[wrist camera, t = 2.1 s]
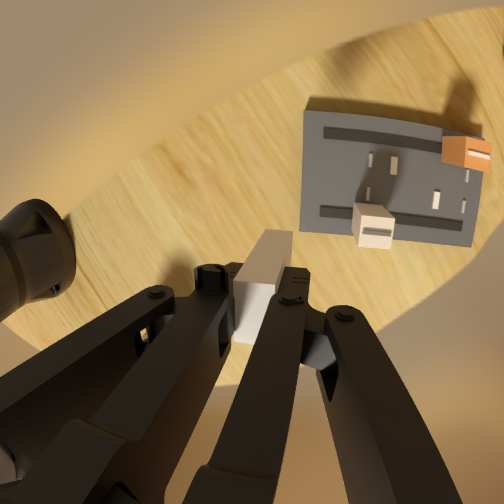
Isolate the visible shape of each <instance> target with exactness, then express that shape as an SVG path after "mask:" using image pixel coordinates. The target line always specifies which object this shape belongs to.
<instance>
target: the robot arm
mask: <svg viewBox="0 0 504 504" xmlns="http://www.w3.org/2000/svg"><path fill="white" fill-rule="evenodd" d="M292 235H293V231H282V230H269V229H265V231H264V233H263V234H262V236H261V237H260V239H259V240H258V242H257V244H256V245H255V247H254V248H253V250H252V251H251V253H250V255H249V256H248V258H247V259H246V261H245V262H244V263H235V262H231V263H229V264H227V265H225V266H223V265H219V264H205V265H201V266H198V267H196V268H195V269H194V276H195V290H194V291H193V293H192V294H191V295H190V296H189V297H174V291H173V289H172V288H170V287H168V286H163V285H155V286H152V287H148V288H146V289H144V290H142V291H140V292H139V293H137V294H135V295H134V296H132V297H130V298H129V299H127V300H125V301H124V302H122V303H120V304H118V305H117V306H115V307H113V308H112V309H110V310H108V311H107V312H105V313H103V314H102V315H100V316H98V317H97V318H95V319H93V320H92V321H90V322H88V323H87V324H85V325H83V326H82V327H80V328H78V329H77V330H75V331H74V332H72V333H70V334H69V335H67V336H65V337H64V338H62V339H60V340H59V341H57V342H56V343H54V344H52V345H51V346H49V347H48V348H46V349H44V350H43V351H41V352H40V353H38V354H36V355H35V356H33V357H32V358H30V359H28V360H27V361H25V362H23V363H22V364H20V365H19V366H17V367H16V368H14V369H12V370H11V371H9V372H8V373H6V374H5V375H3V376H1V377H0V504H164V495H165V490H166V487H167V485H168V483H169V481H170V479H171V477H172V474H173V472H174V470H175V468H176V466H177V464H178V462H179V460H180V458H181V456H182V454H183V451H184V449H185V447H186V445H187V443H188V441H189V439H190V437H191V435H192V433H193V430H194V428H195V426H196V424H197V422H198V420H199V418H200V415H201V413H202V411H203V409H204V407H205V405H206V403H207V400H208V398H209V396H210V394H211V392H212V390H213V387H214V385H215V383H216V381H217V379H218V376H219V374H220V372H221V370H222V368H223V365H224V363H225V361H226V359H227V357H228V354H229V352H230V350H231V337H232V335H233V333H234V342H240V343H246V344H253V345H254V346H253V349H252V352H251V354H250V357H249V360H248V363H247V365H246V368H245V371H244V373H243V376H242V379H241V381H240V384H239V387H238V389H237V392H236V395H235V397H234V400H233V403H232V405H231V408H230V410H229V413H228V416H227V418H226V421H225V423H224V426H223V428H222V431H221V434H220V436H219V439H218V441H217V444H216V446H215V449H214V451H213V454H212V456H211V459H210V461H209V462H208V463H207V464H206V465H202V466H201V467H200V468H199V469H198V471H197V472H196V474H195V476H194V478H193V480H192V482H191V485H190V487H189V489H188V491H187V494H186V496H185V498H184V500H183V503H182V504H273V502H274V498H275V494H276V490H277V485H278V480H279V475H280V471H281V466H282V462H283V457H284V452H285V447H286V442H287V437H288V431H289V426H290V420H291V415H292V409H293V403H294V397H295V391H296V385H297V379H298V373H299V366H300V363H301V364H304V365H307V366H310V367H313V368H315V369H316V376H317V379H318V383H319V387H320V390H321V394H322V398H323V402H324V405H325V409H326V413H327V417H328V421H329V424H330V428H331V432H332V436H333V440H334V444H335V448H336V452H337V456H338V460H339V464H340V468H341V472H342V476H343V481H344V485H345V489H346V493H347V498H348V502H349V504H463V503H462V501H461V499H460V496H459V494H458V492H457V489H456V487H455V485H454V483H453V480H452V478H451V476H450V474H449V471H448V469H447V467H446V465H445V463H444V461H443V459H442V457H441V455H440V452H439V450H438V448H437V446H436V445H435V442H434V440H433V438H432V436H431V434H430V432H429V430H428V428H427V426H426V424H425V422H424V420H423V419H422V417H421V415H420V413H419V411H418V409H417V407H416V405H415V404H414V402H413V400H412V398H411V396H410V394H409V392H408V390H407V389H406V387H405V385H404V383H403V381H402V380H401V378H400V376H399V374H398V372H397V371H396V369H395V367H394V365H393V364H392V362H391V360H390V358H389V357H388V355H387V353H386V351H385V350H384V348H383V346H382V345H381V343H380V341H379V339H378V338H377V336H376V334H375V333H374V331H373V329H372V328H371V326H370V324H369V323H368V321H367V319H366V318H365V316H364V315H363V313H362V312H361V311H360V310H358V309H356V308H354V307H352V306H348V305H338V306H333V307H331V308H329V309H328V310H327V311H326V313H323V312H320V311H317V310H315V309H314V308H312V307H311V306H310V305H309V303H308V294H309V284H310V274H311V273H310V272H309V271H308V270H307V268H297V267H291V253H292ZM74 275H75V255H74V249H73V245H72V241H71V238H70V235H69V233H68V230H67V228H66V226H65V224H64V222H63V221H62V219H61V217H60V216H59V214H58V213H57V212H56V211H55V209H54V208H53V207H52V206H50V205H49V204H48V203H47V202H45V201H43V200H40V199H31V200H28V201H25V202H22V203H20V204H19V205H17V206H16V207H15V208H13V209H12V210H11V211H10V212H9V213H8V214H7V215H6V216H5V217H3V219H1V220H0V322H1V321H3V320H4V319H5V318H7V317H8V316H9V315H11V314H12V313H13V312H15V311H16V310H17V309H19V308H20V307H22V306H23V305H25V304H28V303H32V302H37V301H41V300H46V299H51V298H54V297H57V296H58V295H60V294H61V293H63V292H64V291H66V290H67V289H68V288H69V287H70V286H71V284H72V282H73V279H74ZM144 328H146V331H147V336H148V338H146V339H145V340H142V338H141V334H140V331H142V330H143V329H144ZM21 478H22V479H21ZM18 479H20V480H18Z"/></svg>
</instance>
